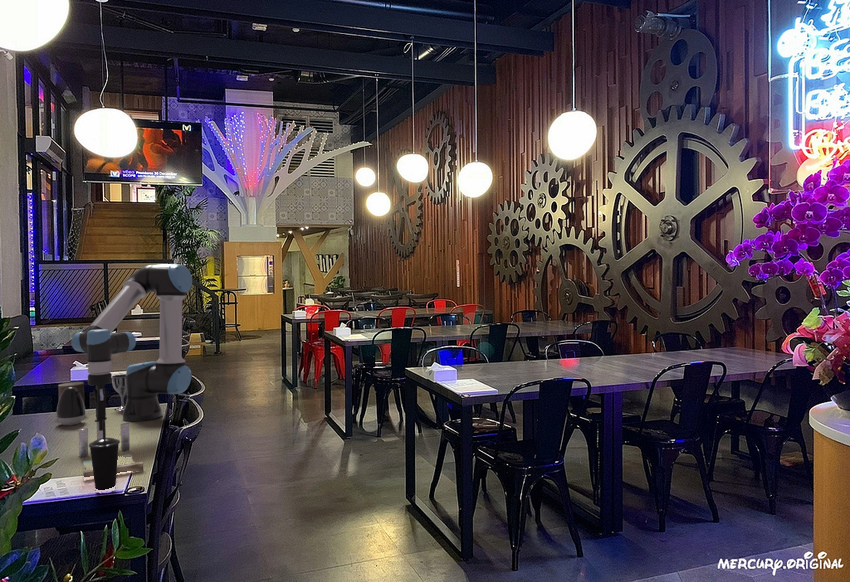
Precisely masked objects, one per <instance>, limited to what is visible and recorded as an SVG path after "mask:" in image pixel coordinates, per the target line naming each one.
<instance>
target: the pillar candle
mask: <svg viewBox="0 0 850 582" xmlns="http://www.w3.org/2000/svg"><path fill="white" fill-rule="evenodd" d="M84 384H85V382H83V381H75V382H74V381H73V382H72V380H70V382H66V383H59V384H58V385H57V387H58V400H59V399H60V396H61V394H62V392H63V391H64V389H66V388H67V387H75V388H76V389H77V390H79V389H80V390H81V392H79V393H80V395H81V397H82V400H83V403H84V407H85V408H86V406H85V404H86V402H85V385H84Z"/></svg>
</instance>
